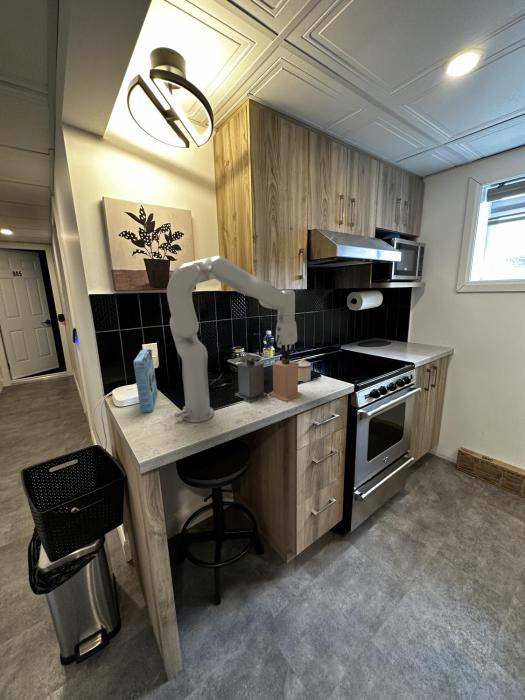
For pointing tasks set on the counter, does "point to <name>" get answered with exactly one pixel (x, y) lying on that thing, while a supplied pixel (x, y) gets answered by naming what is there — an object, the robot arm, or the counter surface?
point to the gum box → (145, 380)
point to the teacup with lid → (304, 371)
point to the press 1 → (251, 381)
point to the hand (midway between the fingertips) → (285, 358)
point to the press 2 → (285, 381)
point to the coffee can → (244, 358)
